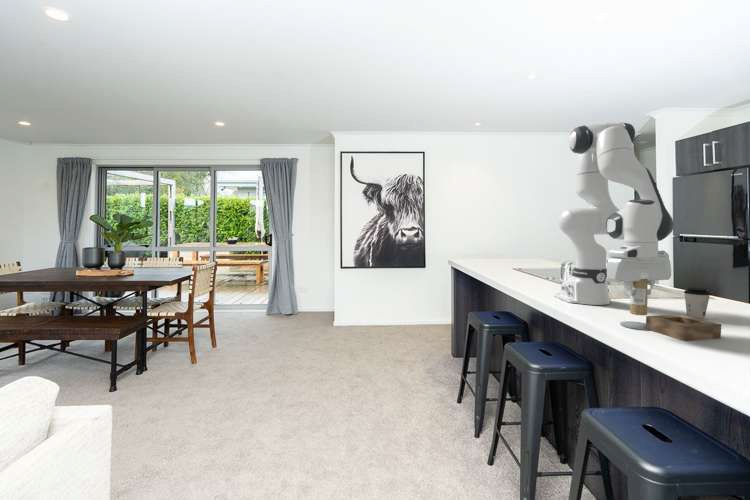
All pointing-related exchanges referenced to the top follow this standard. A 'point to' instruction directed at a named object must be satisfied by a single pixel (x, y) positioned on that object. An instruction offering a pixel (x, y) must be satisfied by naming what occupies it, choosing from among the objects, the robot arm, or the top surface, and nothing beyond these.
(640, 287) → the sprinkles bottle
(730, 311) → the top surface
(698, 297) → the coffee cup
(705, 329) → the holder block
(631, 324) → the coaster
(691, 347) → the top surface
